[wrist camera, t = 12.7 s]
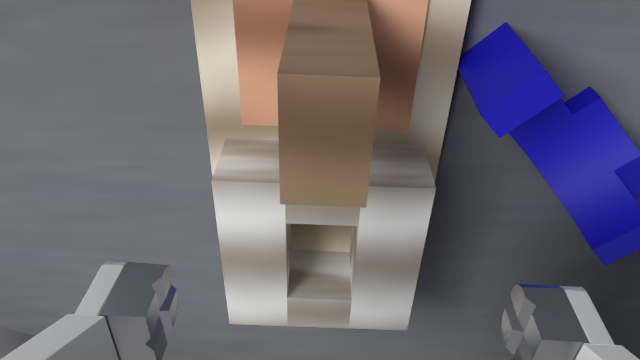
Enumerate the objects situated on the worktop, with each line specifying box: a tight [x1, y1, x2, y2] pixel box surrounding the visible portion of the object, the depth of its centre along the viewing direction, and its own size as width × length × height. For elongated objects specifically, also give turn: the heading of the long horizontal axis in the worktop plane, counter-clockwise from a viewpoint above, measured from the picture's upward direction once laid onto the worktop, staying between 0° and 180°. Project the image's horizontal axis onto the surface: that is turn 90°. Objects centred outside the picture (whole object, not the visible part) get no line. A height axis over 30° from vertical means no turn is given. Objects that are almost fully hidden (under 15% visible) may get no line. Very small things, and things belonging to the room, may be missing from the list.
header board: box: [191, 0, 471, 330], centre depth 26 cm, size 22×13×5 cm, turn 178°
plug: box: [277, 0, 380, 208], centre depth 21 cm, size 5×3×9 cm, turn 178°
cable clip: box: [458, 22, 640, 266], centre depth 25 cm, size 12×4×6 cm, turn 43°
